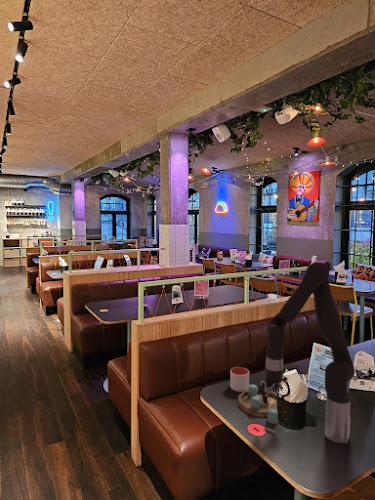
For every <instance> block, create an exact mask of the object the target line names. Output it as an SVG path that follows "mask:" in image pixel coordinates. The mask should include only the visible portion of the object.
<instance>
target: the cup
mask: <svg viewBox="0 0 375 500" xmlns="http://www.w3.org/2000/svg"><path fill="white" fill-rule="evenodd" d="M229 378H230V379H229V380H230V381H229V382H230V383H229V385H230V390H233V391H234V392H235V391H236V392H239V393H240V392H241V393H242V392H243V391H245V390H248V387H249V385H250V371H249V369H247V368H246V367H242V366H241V367H240V366H237V367H235V366H234V367H232V368H231V369H230V377H229Z"/></svg>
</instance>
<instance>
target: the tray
mask: <svg viewBox="0 0 375 500" xmlns="http://www.w3.org/2000/svg"><path fill="white" fill-rule="evenodd" d="M266 391H267V390H266ZM265 393H266V392H265ZM277 394H278V393H276V392H275V391H273V390H271V392H269V393H268V395H267V396H268V398H267V404H265V403H264V402H263V401H262V395H261V394H259V388H257V397H259V398H260V411H258V410H255V409H252V408H251V398H249V397H248V390H245V391H242V392H241V393H240V394H239V395H238V397H237V405H238V407H239V408H240V409H241V410H242V411H244V412H245V413H248V414H250V415H253V416H257V417H261V418H262V417H263V418H268V410H269V409H275V410H277ZM277 411H278V410H277Z"/></svg>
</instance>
